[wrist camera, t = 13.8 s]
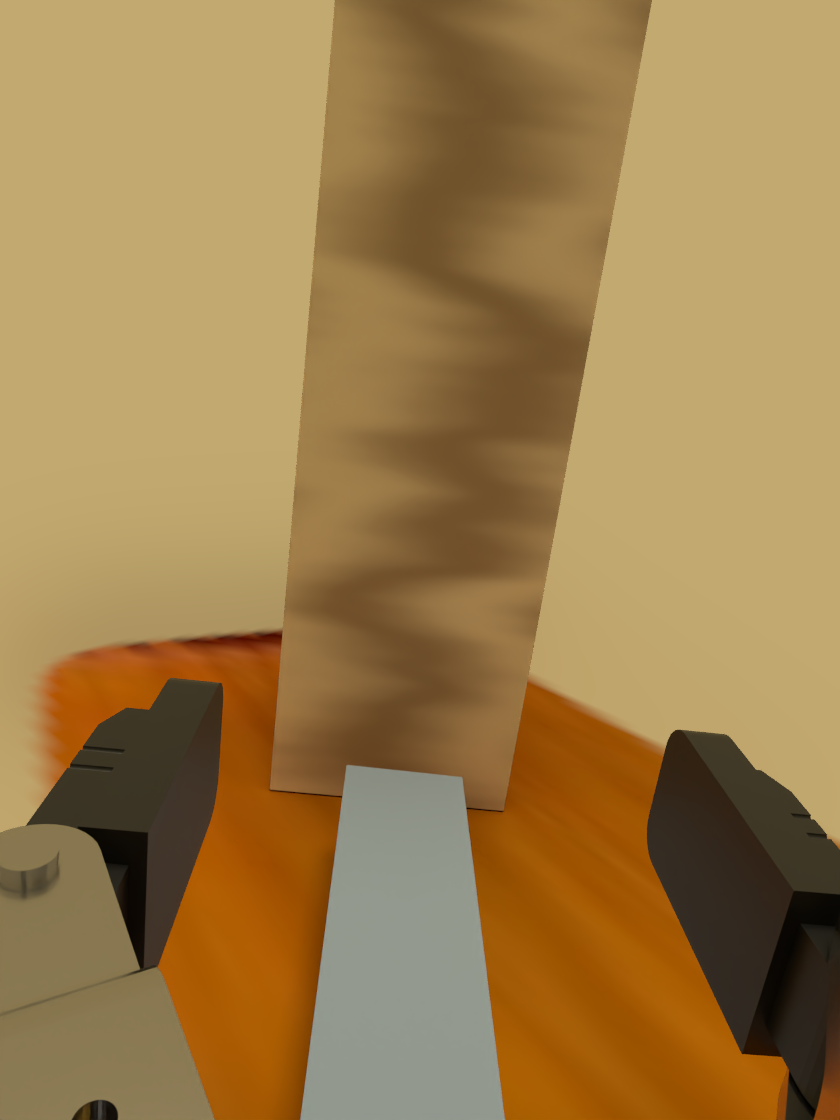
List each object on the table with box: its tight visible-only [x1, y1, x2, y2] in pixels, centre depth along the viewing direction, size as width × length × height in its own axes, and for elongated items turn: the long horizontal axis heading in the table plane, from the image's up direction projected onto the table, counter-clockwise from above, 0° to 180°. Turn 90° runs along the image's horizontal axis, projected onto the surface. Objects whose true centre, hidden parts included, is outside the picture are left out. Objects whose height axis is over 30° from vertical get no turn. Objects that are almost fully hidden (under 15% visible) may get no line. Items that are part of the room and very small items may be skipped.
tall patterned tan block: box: [270, 0, 652, 811], centre depth 22 cm, size 7×6×35 cm
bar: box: [300, 765, 505, 1120], centre depth 14 cm, size 3×14×3 cm, turn 1°
